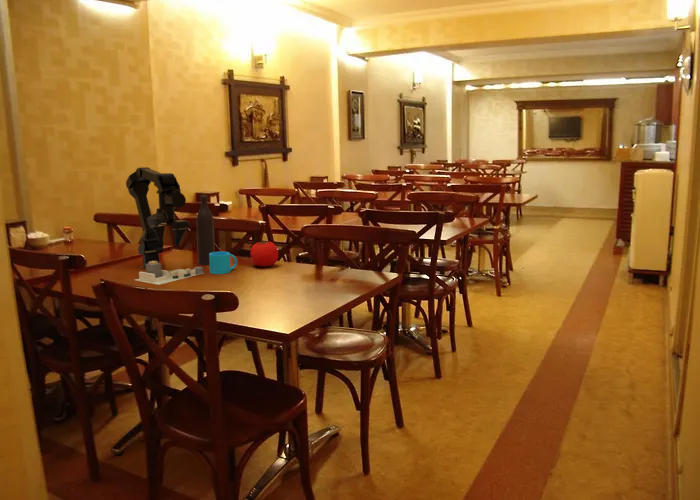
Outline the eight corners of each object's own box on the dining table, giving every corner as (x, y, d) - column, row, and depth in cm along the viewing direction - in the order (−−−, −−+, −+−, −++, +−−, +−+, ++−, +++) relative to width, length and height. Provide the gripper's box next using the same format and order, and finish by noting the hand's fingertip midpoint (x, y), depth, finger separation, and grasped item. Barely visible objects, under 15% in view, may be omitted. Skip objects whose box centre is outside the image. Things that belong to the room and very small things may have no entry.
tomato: (275, 262, 261) (275, 237, 259) (281, 268, 250) (280, 242, 248) (248, 264, 257) (247, 239, 255) (252, 270, 247) (251, 243, 245)
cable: (172, 278, 228) (171, 276, 228) (192, 273, 237) (192, 271, 237) (176, 279, 227) (176, 277, 227) (196, 274, 236) (196, 272, 236)
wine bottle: (217, 265, 256) (214, 195, 250) (201, 267, 252) (198, 196, 246) (211, 262, 261) (208, 194, 256) (195, 264, 258) (192, 195, 252)
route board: (133, 281, 226) (133, 279, 226) (180, 270, 245) (180, 268, 245) (158, 286, 219) (158, 284, 219) (204, 274, 238) (204, 273, 238)
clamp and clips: (173, 277, 230) (172, 271, 229) (196, 272, 240) (196, 266, 239) (181, 279, 228) (180, 273, 227) (204, 273, 238) (203, 267, 237)
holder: (138, 279, 227) (138, 271, 226) (154, 275, 233) (153, 268, 232) (154, 282, 222) (153, 274, 222) (169, 278, 228) (168, 271, 228)
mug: (216, 276, 235) (215, 256, 234) (206, 273, 241) (205, 253, 239) (242, 272, 243) (241, 252, 242) (231, 268, 249) (231, 249, 247)
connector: (146, 279, 227) (145, 262, 226) (154, 277, 230) (153, 260, 229) (153, 280, 225) (152, 263, 224) (161, 278, 228) (160, 261, 227)
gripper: (133, 206, 232) (136, 245, 234) (166, 209, 222) (169, 250, 225) (156, 203, 241) (158, 241, 244) (189, 206, 231) (191, 245, 234)
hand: (168, 244), depth 236 cm, fingers open, 9 cm apart
